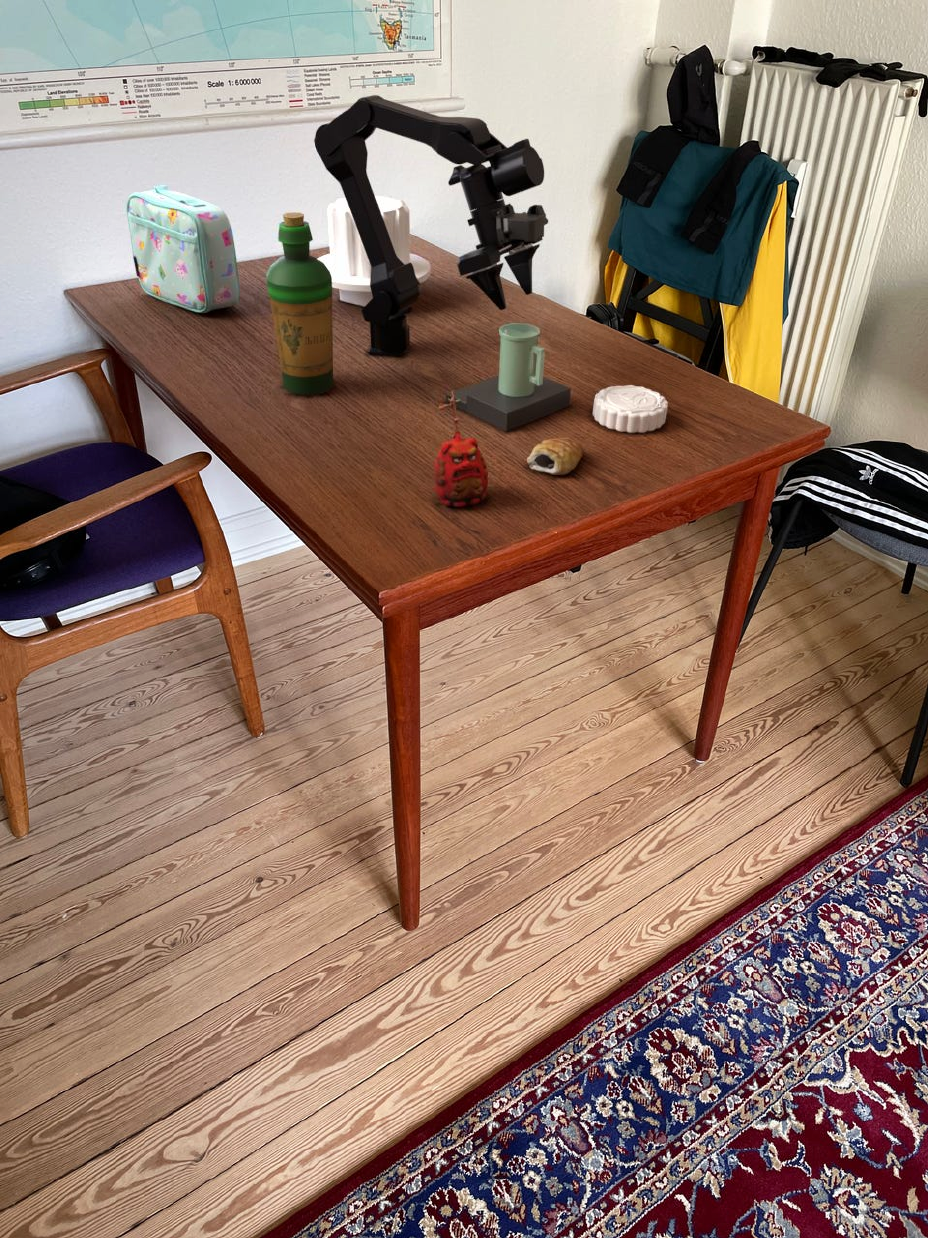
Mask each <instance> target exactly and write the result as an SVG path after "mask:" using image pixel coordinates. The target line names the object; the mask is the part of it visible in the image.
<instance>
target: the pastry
mask: <svg viewBox="0 0 928 1238" xmlns="http://www.w3.org/2000/svg"><path fill="white" fill-rule="evenodd" d="M583 451H584V448H583V445H582V443H580V442H578V441H577V440H574V439H573V438H571V437H556V438H549V439H544V440H542V441H541V443H537V444H536V445H535V446H534V447H533V448H532V450H531V453H530V455H529V456H528V457H527V458H526V461H527V464H528V466H529V468H530V469H531V470H533V471H536V472H539V473H545V474H549V475H553V476H563V475H566V474H567V475H568V474H569V473H571V472H572V471H574V470H575V469H576V467H577V465H578V464H579V462H580V461H581V458H582V456H583Z"/></svg>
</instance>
